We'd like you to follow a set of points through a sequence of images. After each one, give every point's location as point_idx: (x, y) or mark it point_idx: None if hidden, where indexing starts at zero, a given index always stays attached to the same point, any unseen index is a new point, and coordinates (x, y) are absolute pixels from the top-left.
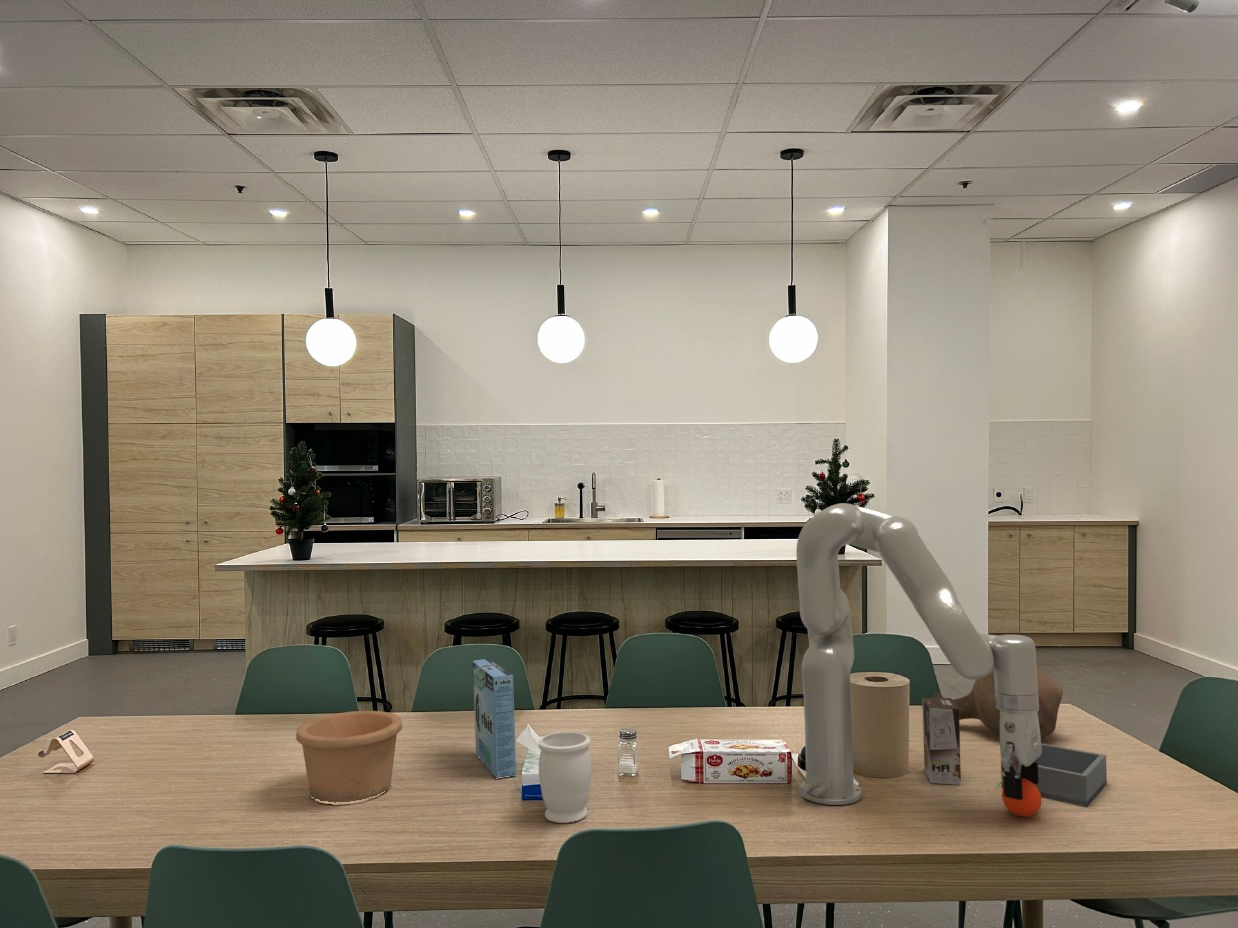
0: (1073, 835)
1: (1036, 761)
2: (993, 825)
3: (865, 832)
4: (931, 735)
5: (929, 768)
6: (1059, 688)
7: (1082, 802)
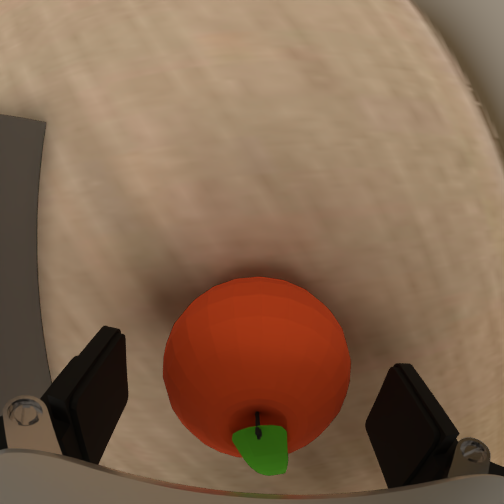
0: (374, 128)
1: (29, 400)
2: None
3: None
4: None
5: None
6: None
7: (35, 137)
